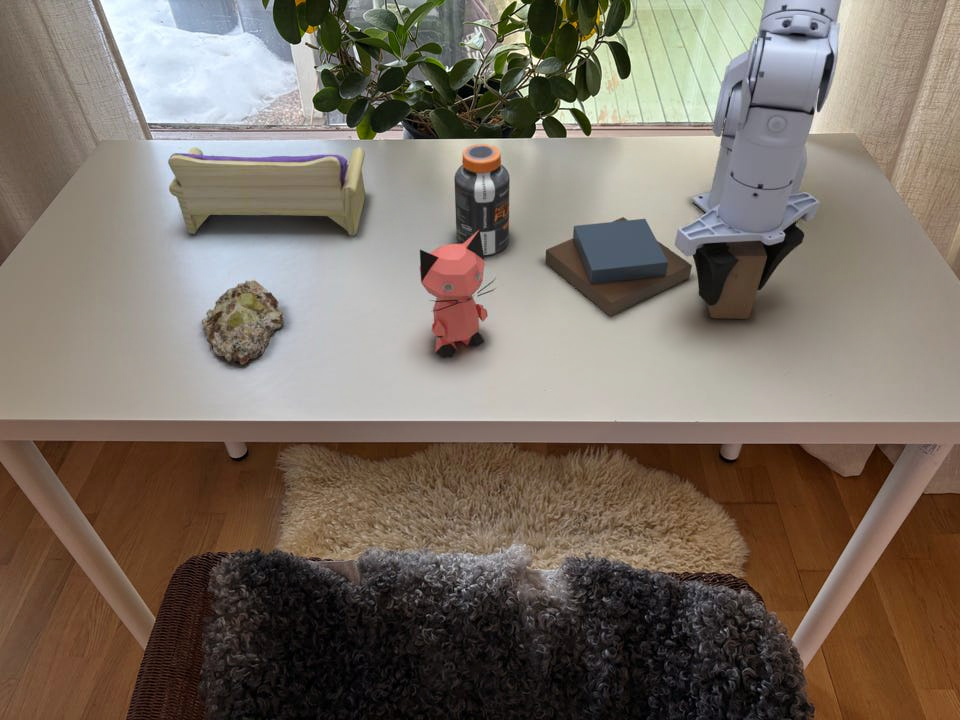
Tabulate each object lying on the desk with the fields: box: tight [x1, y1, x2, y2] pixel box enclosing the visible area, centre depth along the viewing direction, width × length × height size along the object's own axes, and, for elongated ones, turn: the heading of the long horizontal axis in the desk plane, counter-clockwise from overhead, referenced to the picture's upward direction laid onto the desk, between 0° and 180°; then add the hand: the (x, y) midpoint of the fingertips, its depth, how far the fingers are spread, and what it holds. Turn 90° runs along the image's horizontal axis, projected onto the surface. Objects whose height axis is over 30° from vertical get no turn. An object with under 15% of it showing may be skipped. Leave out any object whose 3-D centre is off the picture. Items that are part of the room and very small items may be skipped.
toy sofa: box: [167, 146, 366, 237], centre depth 89 cm, size 21×9×10 cm, turn 88°
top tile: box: [572, 218, 668, 284], centre depth 82 cm, size 8×8×2 cm
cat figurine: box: [419, 230, 498, 359], centre depth 72 cm, size 7×7×12 cm
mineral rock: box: [201, 280, 285, 366], centre depth 77 cm, size 11×4×8 cm
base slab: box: [544, 216, 693, 317], centre depth 83 cm, size 11×11×2 cm
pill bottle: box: [453, 143, 511, 256], centre depth 84 cm, size 6×6×11 cm
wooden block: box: [706, 241, 767, 320], centre depth 76 cm, size 4×4×8 cm
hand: (729, 292), depth 78 cm, fingers closed on wooden block, 5 cm apart
